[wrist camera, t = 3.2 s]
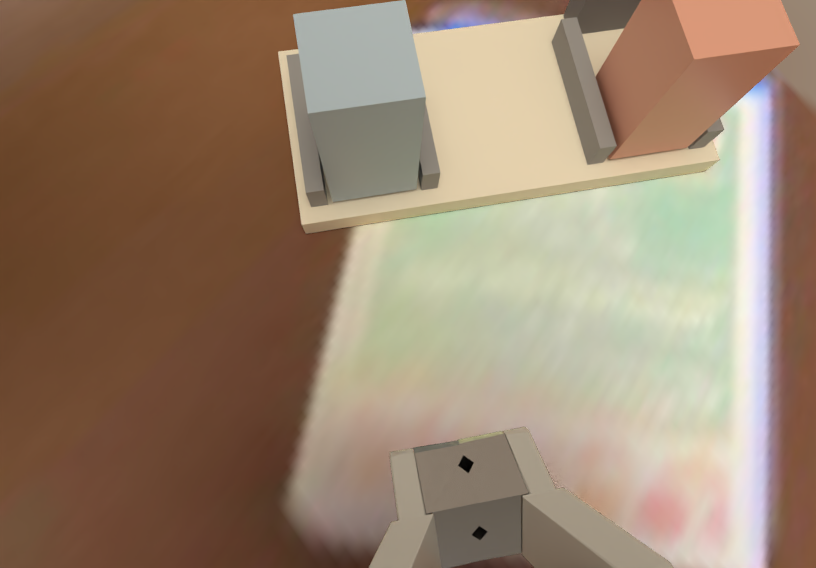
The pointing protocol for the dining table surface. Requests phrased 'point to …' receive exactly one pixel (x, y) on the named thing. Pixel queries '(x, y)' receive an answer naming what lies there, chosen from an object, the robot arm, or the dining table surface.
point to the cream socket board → (498, 121)
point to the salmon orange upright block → (687, 68)
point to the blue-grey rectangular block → (363, 97)
